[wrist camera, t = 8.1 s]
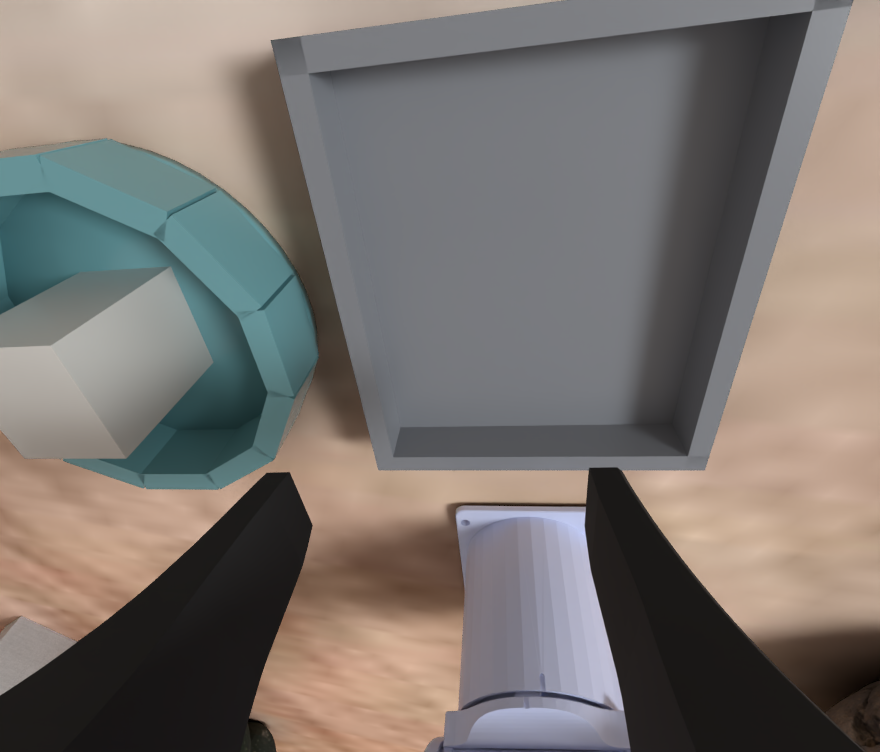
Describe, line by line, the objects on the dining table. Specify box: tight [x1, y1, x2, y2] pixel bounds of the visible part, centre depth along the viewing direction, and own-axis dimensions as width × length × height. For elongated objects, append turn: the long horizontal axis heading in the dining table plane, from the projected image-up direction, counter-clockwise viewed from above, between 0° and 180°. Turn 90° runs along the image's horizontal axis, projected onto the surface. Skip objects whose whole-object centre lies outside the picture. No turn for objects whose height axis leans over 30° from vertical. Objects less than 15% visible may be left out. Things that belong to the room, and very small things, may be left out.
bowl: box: [0, 138, 319, 490], centre depth 19 cm, size 14×14×4 cm
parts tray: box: [271, 0, 853, 470], centre depth 16 cm, size 16×14×2 cm
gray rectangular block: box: [0, 266, 213, 459], centre depth 17 cm, size 4×4×6 cm
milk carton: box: [0, 616, 77, 695], centre depth 37 cm, size 4×7×10 cm, turn 40°
